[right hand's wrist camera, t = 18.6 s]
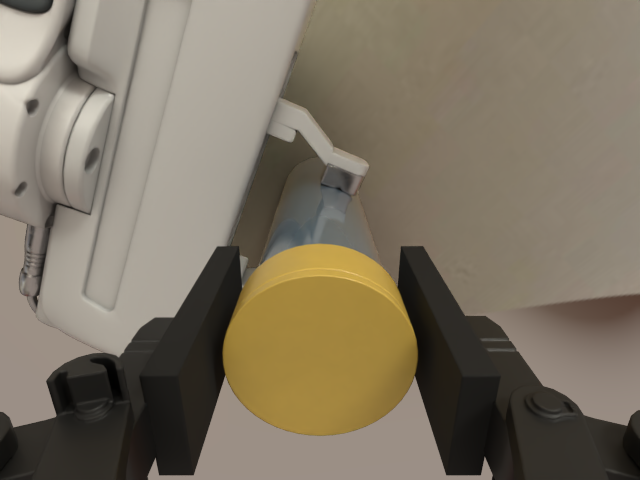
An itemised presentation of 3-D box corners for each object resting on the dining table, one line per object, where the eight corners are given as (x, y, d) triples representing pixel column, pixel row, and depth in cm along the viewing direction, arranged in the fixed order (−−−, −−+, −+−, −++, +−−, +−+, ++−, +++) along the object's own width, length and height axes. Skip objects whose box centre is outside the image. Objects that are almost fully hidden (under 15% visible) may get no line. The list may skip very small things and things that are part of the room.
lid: (202, 320, 12) (181, 364, 10) (318, 206, 11) (318, 233, 9) (321, 410, 14) (321, 463, 12) (437, 318, 12) (458, 361, 10)
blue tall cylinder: (364, 214, 26) (418, 389, 12) (297, 234, 27) (270, 424, 12) (344, 147, 25) (380, 250, 10) (274, 168, 25) (211, 297, 11)
